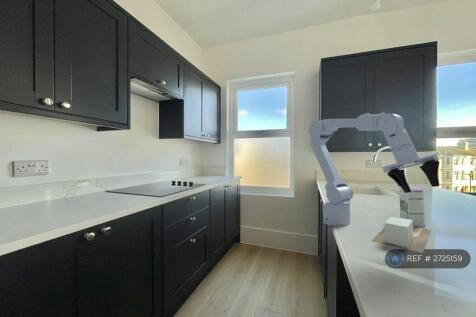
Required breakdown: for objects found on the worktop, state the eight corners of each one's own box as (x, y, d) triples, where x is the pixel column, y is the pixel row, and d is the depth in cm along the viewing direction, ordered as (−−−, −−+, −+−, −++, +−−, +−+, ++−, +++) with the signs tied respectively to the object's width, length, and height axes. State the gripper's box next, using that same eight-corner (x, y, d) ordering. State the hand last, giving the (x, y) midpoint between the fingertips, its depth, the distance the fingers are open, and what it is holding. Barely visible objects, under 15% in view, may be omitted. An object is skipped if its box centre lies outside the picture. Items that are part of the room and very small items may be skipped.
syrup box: (425, 227, 77) (424, 189, 77) (408, 226, 79) (407, 189, 78) (416, 222, 83) (415, 186, 83) (399, 221, 84) (398, 186, 84)
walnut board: (371, 243, 64) (371, 240, 64) (389, 225, 80) (389, 222, 80) (422, 256, 55) (422, 252, 55) (431, 232, 72) (431, 229, 72)
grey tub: (385, 242, 63) (384, 222, 63) (391, 234, 69) (391, 216, 69) (408, 247, 59) (407, 227, 59) (413, 238, 65) (412, 220, 65)
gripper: (383, 150, 62) (402, 194, 58) (435, 137, 60) (460, 181, 56) (373, 156, 69) (391, 195, 65) (420, 144, 66) (441, 184, 63)
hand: (422, 189), depth 61 cm, fingers open, 7 cm apart
